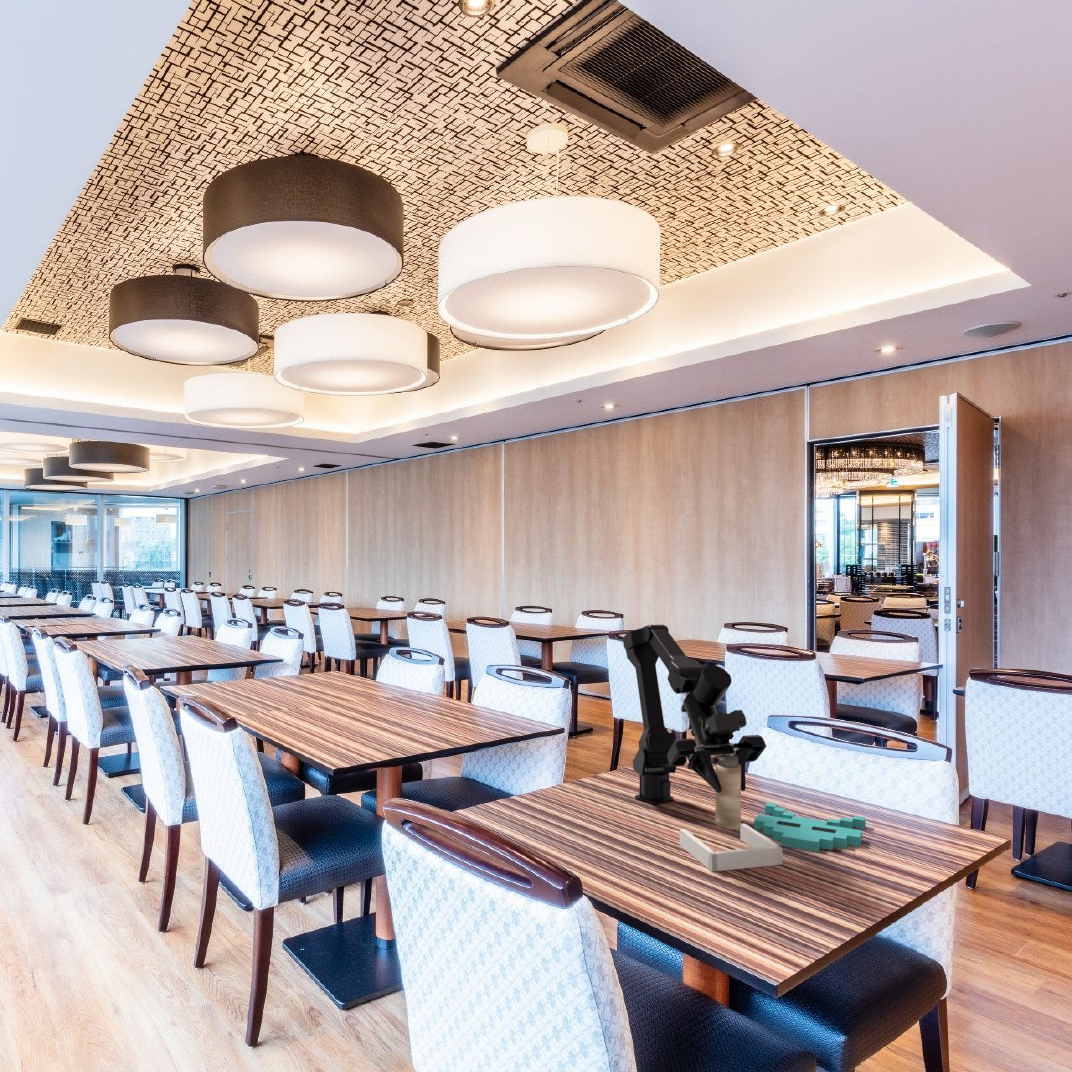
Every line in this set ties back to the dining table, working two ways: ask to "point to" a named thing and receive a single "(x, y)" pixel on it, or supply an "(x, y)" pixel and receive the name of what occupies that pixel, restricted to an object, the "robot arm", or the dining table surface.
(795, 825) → the alien figure
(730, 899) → the dining table surface
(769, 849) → the u-shaped frame
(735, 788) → the pepper mill
